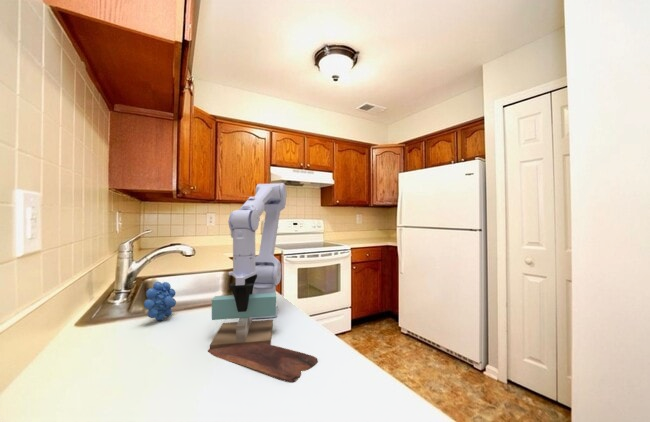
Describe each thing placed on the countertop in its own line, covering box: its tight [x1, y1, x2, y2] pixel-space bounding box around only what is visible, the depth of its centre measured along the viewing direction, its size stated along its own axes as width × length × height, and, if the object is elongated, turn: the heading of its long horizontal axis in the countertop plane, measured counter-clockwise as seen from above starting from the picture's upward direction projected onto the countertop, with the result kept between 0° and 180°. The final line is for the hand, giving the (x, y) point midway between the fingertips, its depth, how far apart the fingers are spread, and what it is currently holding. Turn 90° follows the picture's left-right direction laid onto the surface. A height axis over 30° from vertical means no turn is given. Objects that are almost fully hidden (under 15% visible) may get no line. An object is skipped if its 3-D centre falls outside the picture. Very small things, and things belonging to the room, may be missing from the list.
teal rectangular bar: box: [211, 292, 277, 321], centre depth 71 cm, size 16×4×5 cm, turn 99°
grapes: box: [143, 281, 177, 322], centre depth 82 cm, size 12×7×12 cm, turn 170°
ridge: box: [209, 317, 274, 349], centre depth 71 cm, size 14×14×5 cm
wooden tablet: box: [207, 343, 319, 383], centre depth 60 cm, size 26×2×10 cm
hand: (244, 306), depth 71 cm, fingers open, 7 cm apart
